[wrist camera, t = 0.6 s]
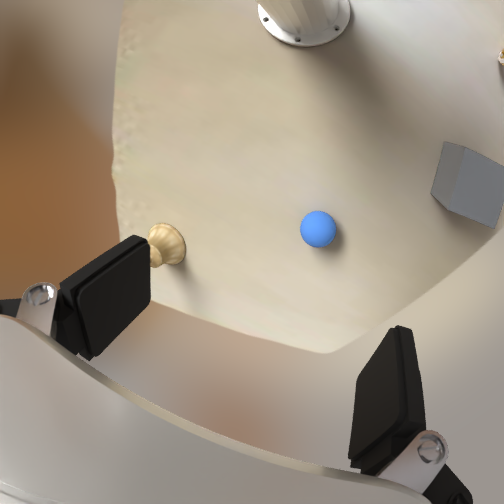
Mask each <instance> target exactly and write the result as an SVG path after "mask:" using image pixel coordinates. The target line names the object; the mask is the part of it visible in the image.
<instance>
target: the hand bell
mask: <svg viewBox="0 0 504 504" xmlns="http://www.w3.org/2000/svg"><path fill="white" fill-rule="evenodd" d="M148 244H149V245H150V248H151V249H150V267H152V268H157V267H159V266H161V265H162V264H164V263H165V264H169V265H173V264H177V263H179V262H181V261H182V259H183V258H184V256H185V252H186V247H185V242H184V240H183V238H182V236H181V234H180V233H179V232H178V231H177V230H176V229H175V228H174V227H172V226H171V225H168V224H165V223H160V224H156V225H154V226H153V227H152V228H151V229H150V231H149V234H148Z"/></svg>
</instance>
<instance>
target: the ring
mask: <svg viewBox="0 0 504 504" xmlns="http://www.w3.org/2000/svg"><path fill="white" fill-rule="evenodd" d="M498 60H499V61H500V63H501V64H502V65H503V66H504V49H503V50H501V51H500V54H499V56H498Z"/></svg>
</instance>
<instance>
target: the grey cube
mask: <svg viewBox="0 0 504 504" xmlns="http://www.w3.org/2000/svg"><path fill="white" fill-rule="evenodd" d="M431 194H432V195H433V196H434V197H435V198H436V199H437V200H438V201H439V202H440V203H441V204H442V205H443V206H444V207H445V208H446V209H447V210H449V211H452V212H455V213H457V214H460V215H462V216H465V217H467V218H469V219H472V220H474V221H476V222H479V223H481V224H483V225H486V226H488V227H490V228H492V229H494V228H495V226H496V223H497V220H498V218H499V215H500V212H501V209H502V206H503V203H504V167H503V166H502V165H500V164H498V163H496V162H494V161H492V160H491V159H489V158H487V157H485V156H483V155H481V154H479V153H477V152H475V151H473V150H470V149H468V148H466V147H463V146H460V145H456V144H452V143H448V142H444V145H443V149H442V153H441V157H440V161H439V165H438V169H437V173H436V176H435V180H434V183H433V187H432V190H431Z"/></svg>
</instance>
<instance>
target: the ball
mask: <svg viewBox="0 0 504 504" xmlns="http://www.w3.org/2000/svg"><path fill="white" fill-rule="evenodd" d="M300 232H301V236H302V238H303V240H304V241H305V242H306V243H307V244H309V245H310V246H313V247H324V246H326V245H328V244H329V243H331V242H332V240H333V239H334V237H335V234H336V225H335V222H334V220H333V218H332V217H331V216H330V215H328V214H327V213H325V212H321V211H314V212H311V213H309V214H308V215H306V216H305V217H304V219H303V220H302V222H301V226H300Z"/></svg>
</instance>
